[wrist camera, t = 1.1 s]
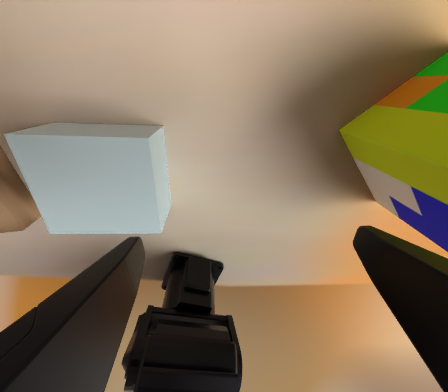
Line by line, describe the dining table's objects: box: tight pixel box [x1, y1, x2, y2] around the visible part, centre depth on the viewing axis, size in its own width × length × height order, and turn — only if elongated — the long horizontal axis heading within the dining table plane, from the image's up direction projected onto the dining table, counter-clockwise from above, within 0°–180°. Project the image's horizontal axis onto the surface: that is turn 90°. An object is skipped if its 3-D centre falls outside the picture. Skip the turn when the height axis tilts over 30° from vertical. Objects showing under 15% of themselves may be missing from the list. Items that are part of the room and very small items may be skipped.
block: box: [4, 122, 171, 234], centre depth 17 cm, size 8×9×5 cm
